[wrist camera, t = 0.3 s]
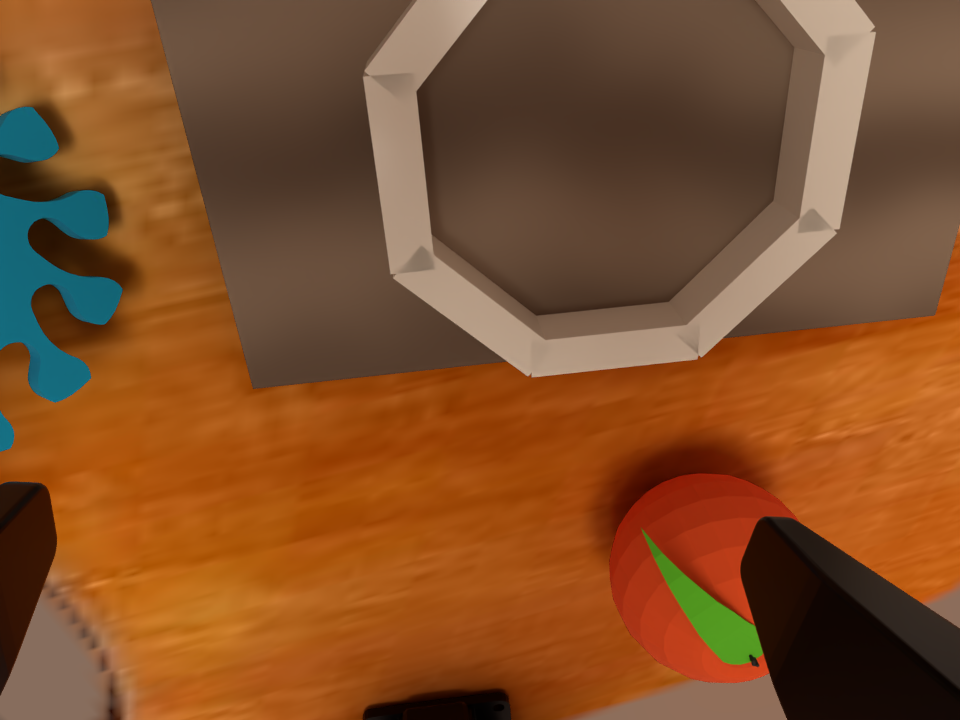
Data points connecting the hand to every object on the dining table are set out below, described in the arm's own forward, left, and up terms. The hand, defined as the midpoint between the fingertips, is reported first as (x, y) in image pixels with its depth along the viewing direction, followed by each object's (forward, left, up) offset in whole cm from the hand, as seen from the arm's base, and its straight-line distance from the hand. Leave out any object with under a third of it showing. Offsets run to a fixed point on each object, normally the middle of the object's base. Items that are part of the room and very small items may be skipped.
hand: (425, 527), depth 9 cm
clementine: (-13, -9, -14) cm, 21 cm away
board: (+1, -6, -14) cm, 15 cm away
